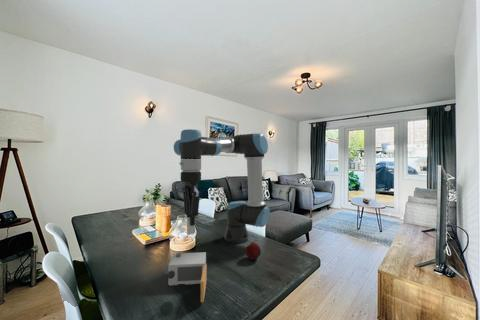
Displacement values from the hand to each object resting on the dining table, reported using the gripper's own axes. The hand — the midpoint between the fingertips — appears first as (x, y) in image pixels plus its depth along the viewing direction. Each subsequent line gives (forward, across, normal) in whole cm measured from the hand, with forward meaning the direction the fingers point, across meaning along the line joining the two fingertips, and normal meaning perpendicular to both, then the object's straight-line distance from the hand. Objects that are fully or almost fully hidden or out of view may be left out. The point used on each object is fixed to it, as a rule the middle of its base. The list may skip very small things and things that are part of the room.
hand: (191, 233), depth 77 cm
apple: (+22, -6, +35) cm, 42 cm away
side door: (+21, +4, +3) cm, 21 cm away
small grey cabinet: (+22, -9, +2) cm, 24 cm away
